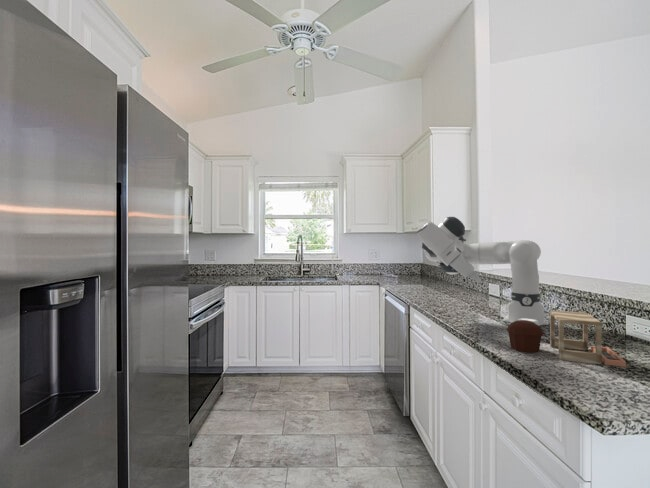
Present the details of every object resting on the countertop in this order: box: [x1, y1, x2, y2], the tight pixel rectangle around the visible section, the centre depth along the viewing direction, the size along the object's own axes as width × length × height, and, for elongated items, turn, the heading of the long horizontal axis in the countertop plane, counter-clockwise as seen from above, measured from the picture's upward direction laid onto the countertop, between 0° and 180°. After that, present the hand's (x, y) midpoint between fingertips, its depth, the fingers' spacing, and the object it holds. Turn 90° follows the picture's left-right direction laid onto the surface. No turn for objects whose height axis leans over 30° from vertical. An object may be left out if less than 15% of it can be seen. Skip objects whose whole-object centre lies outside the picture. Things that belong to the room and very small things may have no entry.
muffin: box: [506, 320, 545, 354], centre depth 123 cm, size 12×11×10 cm
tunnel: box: [549, 309, 603, 365], centre depth 117 cm, size 16×11×13 cm
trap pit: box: [590, 345, 627, 368], centre depth 114 cm, size 16×5×2 cm, turn 156°
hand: (480, 281), depth 129 cm, fingers closed
